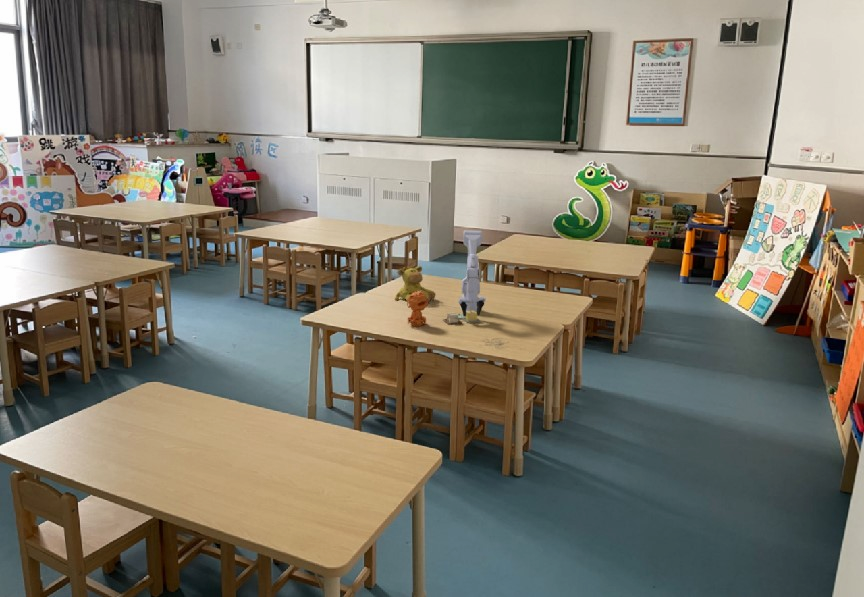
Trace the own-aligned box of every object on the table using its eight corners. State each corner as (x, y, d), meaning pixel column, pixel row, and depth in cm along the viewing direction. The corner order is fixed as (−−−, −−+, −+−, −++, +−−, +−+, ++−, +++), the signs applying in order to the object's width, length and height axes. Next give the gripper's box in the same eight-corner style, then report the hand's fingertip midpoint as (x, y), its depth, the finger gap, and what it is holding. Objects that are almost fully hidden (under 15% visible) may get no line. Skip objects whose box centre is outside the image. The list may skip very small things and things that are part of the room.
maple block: (446, 321, 346) (446, 312, 345) (454, 320, 347) (455, 312, 346) (449, 323, 342) (450, 315, 341) (458, 322, 343) (458, 314, 342)
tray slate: (461, 319, 350) (461, 317, 350) (474, 318, 353) (475, 316, 352) (467, 323, 343) (467, 321, 343) (480, 322, 346) (480, 320, 346)
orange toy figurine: (429, 327, 335) (430, 293, 330) (408, 328, 333) (408, 293, 329) (426, 321, 346) (427, 287, 341) (405, 321, 344) (405, 288, 339)
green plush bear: (421, 306, 372) (422, 273, 367) (386, 300, 384) (386, 267, 379) (439, 298, 389) (440, 266, 384) (405, 292, 401) (406, 261, 396)
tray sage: (447, 316, 355) (447, 314, 355) (460, 315, 358) (460, 313, 357) (452, 320, 348) (452, 318, 348) (465, 319, 351) (465, 317, 351)
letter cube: (465, 319, 349) (465, 311, 348) (473, 318, 351) (473, 310, 349) (468, 322, 345) (469, 313, 344) (476, 321, 347) (477, 312, 345)
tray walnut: (442, 321, 347) (443, 319, 346) (456, 319, 349) (456, 318, 349) (448, 325, 340) (448, 323, 340) (461, 324, 342) (461, 322, 342)
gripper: (462, 293, 338) (461, 318, 341) (488, 291, 342) (487, 316, 346) (457, 289, 344) (456, 315, 348) (482, 287, 349) (481, 312, 352)
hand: (471, 315), depth 347 cm, fingers open, 7 cm apart
